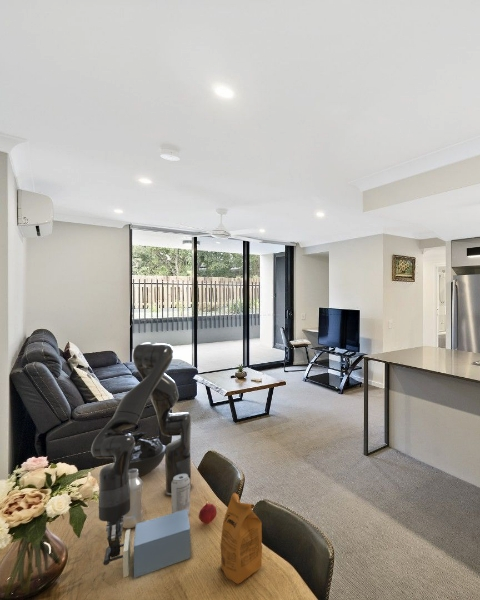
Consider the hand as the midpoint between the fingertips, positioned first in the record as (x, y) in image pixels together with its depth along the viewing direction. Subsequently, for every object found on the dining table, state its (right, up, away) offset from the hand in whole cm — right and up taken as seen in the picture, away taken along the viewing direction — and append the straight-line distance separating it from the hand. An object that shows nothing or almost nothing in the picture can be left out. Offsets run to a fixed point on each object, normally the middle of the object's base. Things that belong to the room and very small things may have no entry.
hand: (115, 555), depth 110 cm
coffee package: (+38, -5, +2) cm, 38 cm away
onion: (+16, -5, +23) cm, 28 cm away
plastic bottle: (-11, -5, +22) cm, 25 cm away
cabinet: (+10, -5, +7) cm, 13 cm away
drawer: (+5, -4, +4) cm, 8 cm away
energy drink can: (+3, -5, +28) cm, 28 cm away
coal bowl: (-35, -4, +59) cm, 69 cm away
